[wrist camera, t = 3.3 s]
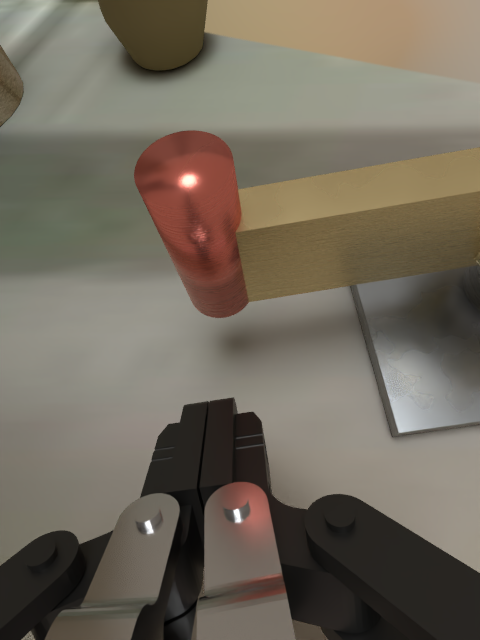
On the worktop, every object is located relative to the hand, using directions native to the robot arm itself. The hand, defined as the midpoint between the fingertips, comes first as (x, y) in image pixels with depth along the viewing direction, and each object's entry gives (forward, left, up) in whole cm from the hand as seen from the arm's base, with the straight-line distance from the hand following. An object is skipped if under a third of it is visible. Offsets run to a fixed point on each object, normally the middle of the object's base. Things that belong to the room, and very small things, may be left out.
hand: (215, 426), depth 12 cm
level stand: (+14, +7, -7) cm, 17 cm away
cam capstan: (+9, +6, -2) cm, 11 cm away
